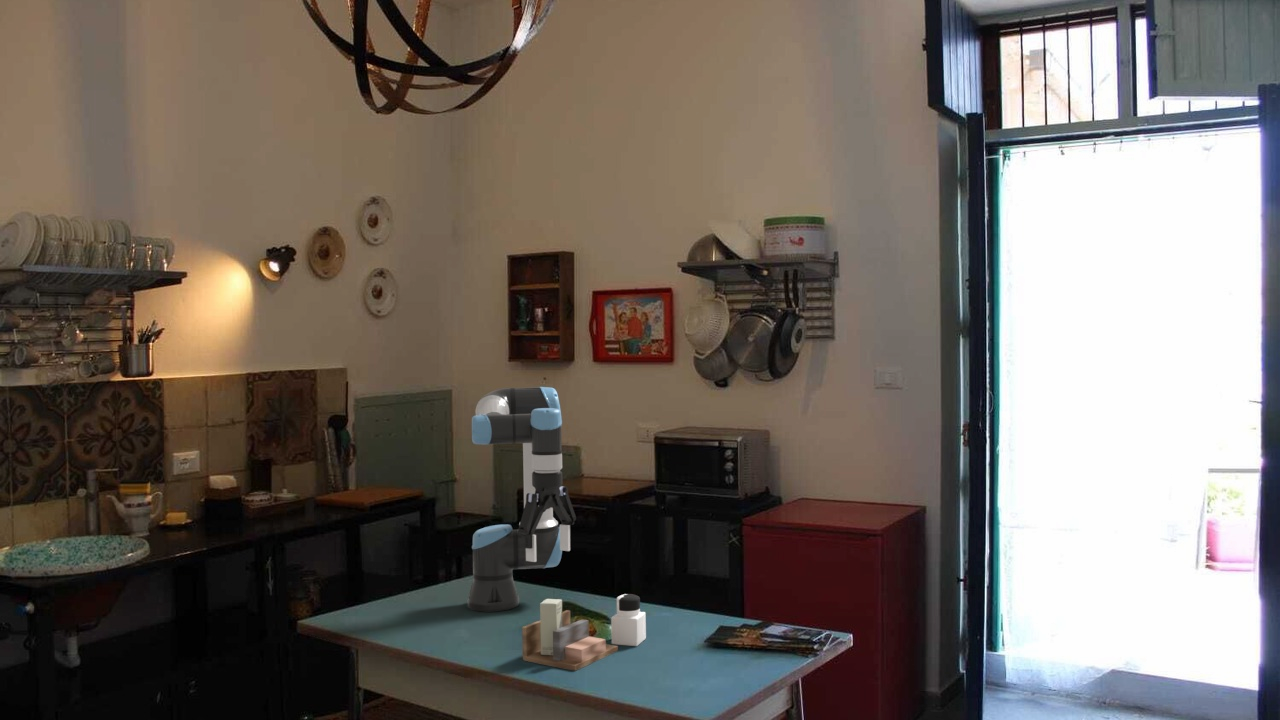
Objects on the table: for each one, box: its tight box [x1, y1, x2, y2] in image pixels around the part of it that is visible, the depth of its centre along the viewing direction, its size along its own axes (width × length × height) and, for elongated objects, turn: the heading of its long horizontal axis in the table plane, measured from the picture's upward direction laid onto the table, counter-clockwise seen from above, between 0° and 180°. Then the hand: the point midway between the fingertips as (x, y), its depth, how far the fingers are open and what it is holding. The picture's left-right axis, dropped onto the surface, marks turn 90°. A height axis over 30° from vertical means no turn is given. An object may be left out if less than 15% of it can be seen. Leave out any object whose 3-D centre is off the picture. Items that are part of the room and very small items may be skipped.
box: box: [539, 598, 563, 656], centre depth 253 cm, size 5×4×13 cm
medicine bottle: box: [610, 593, 647, 647], centre depth 266 cm, size 7×7×12 cm
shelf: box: [521, 609, 619, 672], centre depth 255 cm, size 18×16×8 cm
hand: (548, 555), depth 255 cm, fingers open, 13 cm apart
